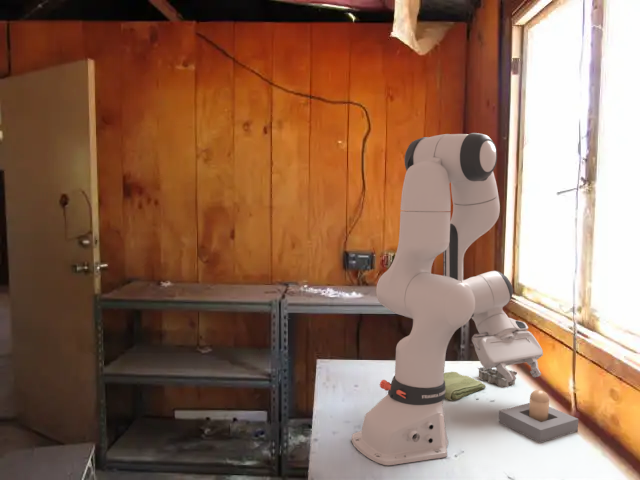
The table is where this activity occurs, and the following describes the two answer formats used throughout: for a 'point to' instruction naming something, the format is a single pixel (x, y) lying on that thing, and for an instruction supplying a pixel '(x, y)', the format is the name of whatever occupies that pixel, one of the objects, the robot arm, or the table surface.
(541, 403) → the peach dome-topped peg
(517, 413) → the grey square peg hole
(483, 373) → the egg carton
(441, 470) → the table surface
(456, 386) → the washcloth
